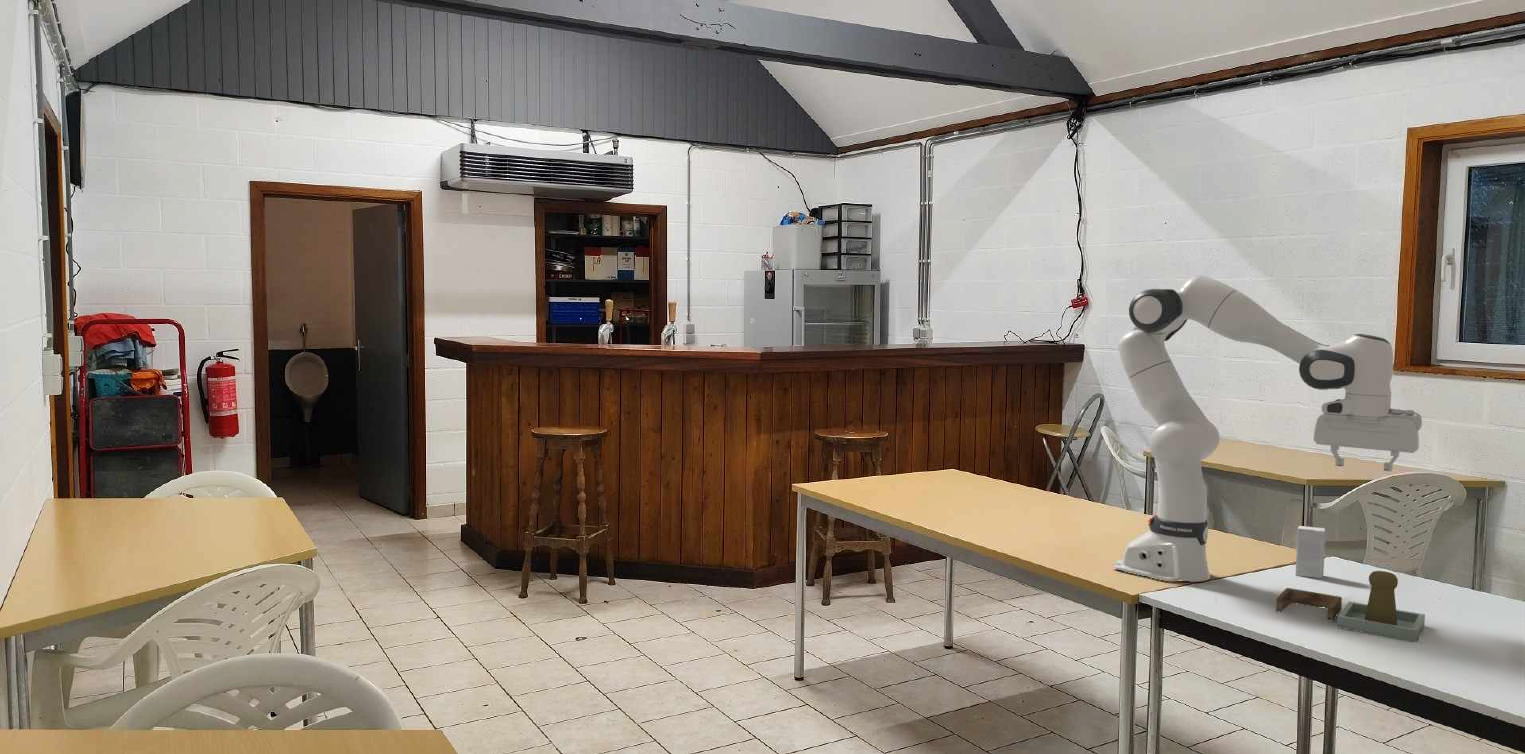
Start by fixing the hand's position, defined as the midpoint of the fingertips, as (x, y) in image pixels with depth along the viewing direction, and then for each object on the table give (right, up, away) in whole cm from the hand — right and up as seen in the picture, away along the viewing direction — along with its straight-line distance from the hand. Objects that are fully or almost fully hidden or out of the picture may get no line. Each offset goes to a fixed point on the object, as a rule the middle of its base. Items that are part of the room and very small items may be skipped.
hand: (1363, 468), depth 226 cm
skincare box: (+2, -29, +26) cm, 39 cm away
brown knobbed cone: (-5, -32, -14) cm, 35 cm away
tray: (-5, -32, -14) cm, 35 cm away
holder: (-14, -31, -4) cm, 34 cm away
